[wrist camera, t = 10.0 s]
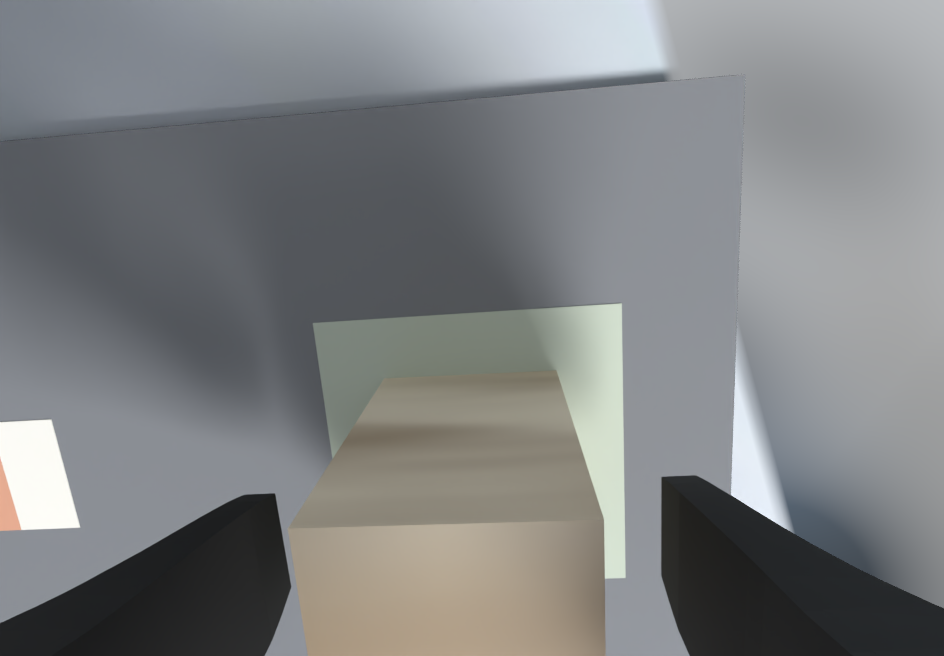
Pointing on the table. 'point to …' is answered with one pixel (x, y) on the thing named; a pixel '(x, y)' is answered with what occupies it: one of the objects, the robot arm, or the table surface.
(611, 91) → the mat
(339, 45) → the table surface
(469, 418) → the birch block
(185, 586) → the robot arm
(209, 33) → the table surface
